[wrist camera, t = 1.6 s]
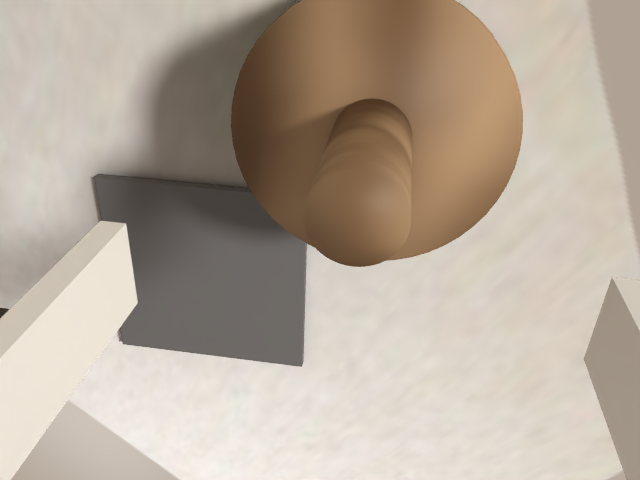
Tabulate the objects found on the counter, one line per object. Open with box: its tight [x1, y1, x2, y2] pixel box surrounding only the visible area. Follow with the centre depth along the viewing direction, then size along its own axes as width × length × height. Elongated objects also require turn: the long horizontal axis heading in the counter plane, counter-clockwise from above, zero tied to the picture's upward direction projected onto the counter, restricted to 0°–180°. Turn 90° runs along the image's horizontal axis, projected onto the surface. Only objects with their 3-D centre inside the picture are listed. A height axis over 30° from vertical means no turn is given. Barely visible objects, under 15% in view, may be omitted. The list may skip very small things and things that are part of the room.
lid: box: [231, 0, 523, 267], centre depth 23 cm, size 13×13×9 cm
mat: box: [95, 174, 307, 367], centre depth 41 cm, size 14×14×1 cm
